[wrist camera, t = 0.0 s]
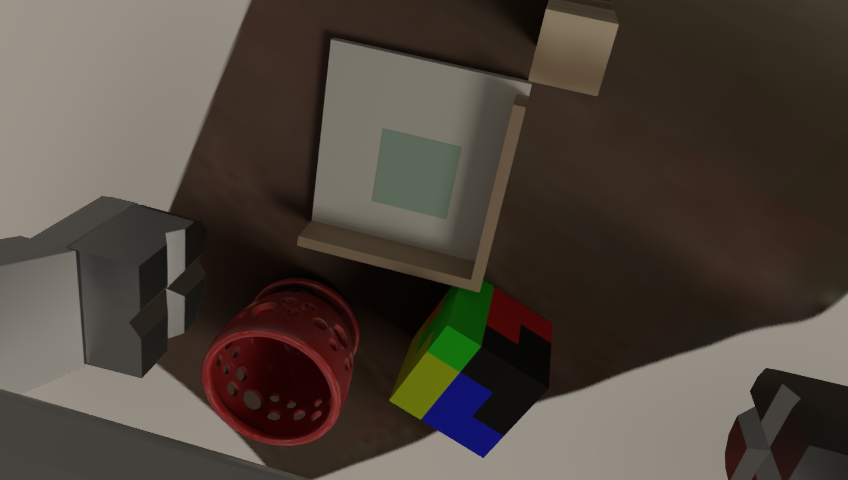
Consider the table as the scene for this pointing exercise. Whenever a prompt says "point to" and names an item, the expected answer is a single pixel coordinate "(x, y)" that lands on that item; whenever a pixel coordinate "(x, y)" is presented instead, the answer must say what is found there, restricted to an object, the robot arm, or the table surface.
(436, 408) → the puzzle toy
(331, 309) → the plant pot
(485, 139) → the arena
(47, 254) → the robot arm
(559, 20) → the beech block
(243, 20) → the table surface
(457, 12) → the table surface
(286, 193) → the table surface
